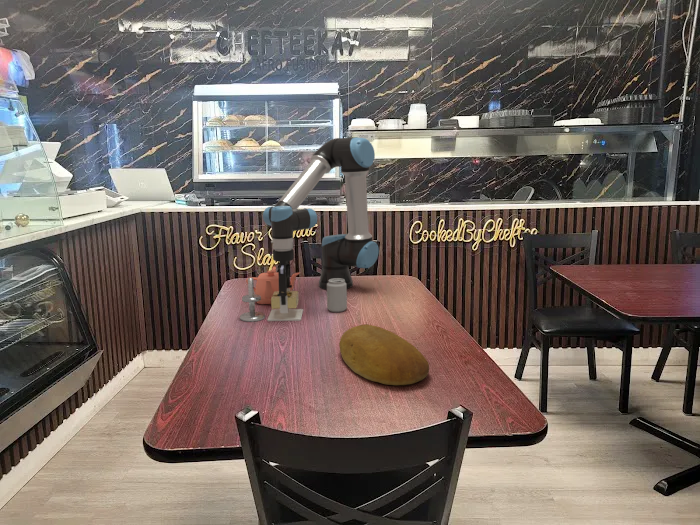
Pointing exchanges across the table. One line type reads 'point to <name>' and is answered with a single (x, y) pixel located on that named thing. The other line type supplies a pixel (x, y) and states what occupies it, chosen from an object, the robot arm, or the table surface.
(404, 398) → the table surface
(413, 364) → the bread
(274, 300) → the link
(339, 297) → the can
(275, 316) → the mat
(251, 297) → the stand
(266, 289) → the pot
